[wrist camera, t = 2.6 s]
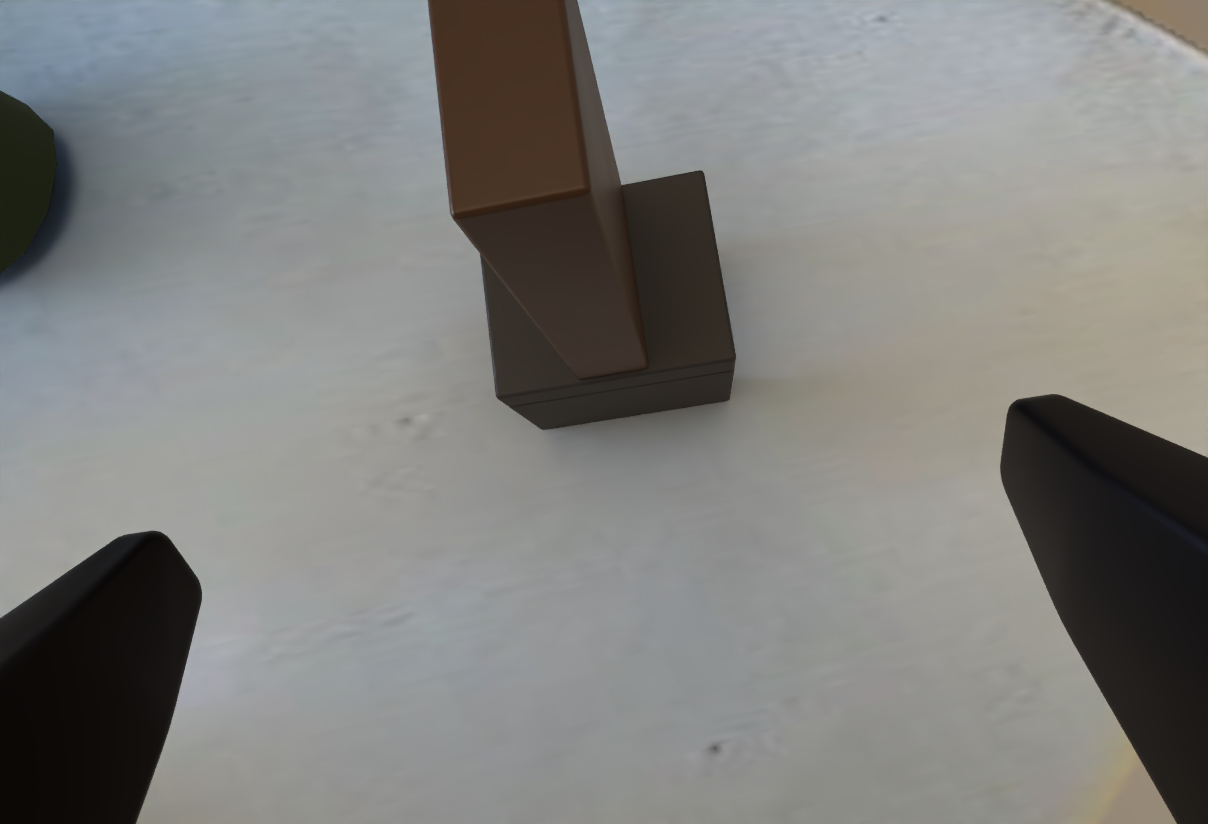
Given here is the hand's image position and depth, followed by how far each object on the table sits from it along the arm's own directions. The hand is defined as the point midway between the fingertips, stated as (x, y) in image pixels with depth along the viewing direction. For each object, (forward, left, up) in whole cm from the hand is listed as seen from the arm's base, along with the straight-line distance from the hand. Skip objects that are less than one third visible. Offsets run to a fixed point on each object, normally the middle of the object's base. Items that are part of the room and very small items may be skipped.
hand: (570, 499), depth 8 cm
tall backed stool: (+4, -3, -12) cm, 13 cm away
